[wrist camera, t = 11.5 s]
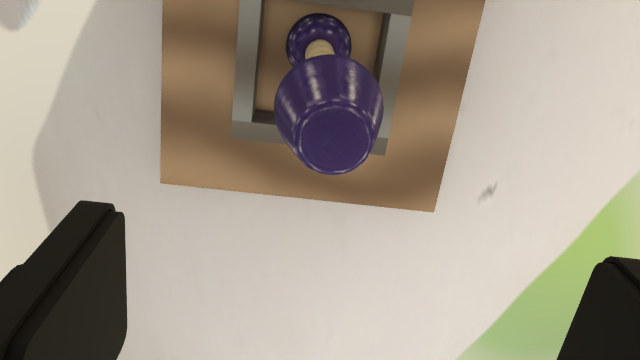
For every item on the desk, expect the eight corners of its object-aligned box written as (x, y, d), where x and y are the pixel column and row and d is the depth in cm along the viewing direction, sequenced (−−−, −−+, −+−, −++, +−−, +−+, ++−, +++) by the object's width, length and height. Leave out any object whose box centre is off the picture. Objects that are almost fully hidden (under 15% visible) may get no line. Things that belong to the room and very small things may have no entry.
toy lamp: (366, 65, 35) (420, 158, 19) (306, 101, 35) (310, 216, 20) (331, -1, 33) (358, 43, 18) (267, 38, 34) (241, 112, 18)
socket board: (170, -135, 31) (150, -149, 27) (497, -86, 33) (525, -91, 28) (165, 174, 39) (148, 201, 35) (429, 203, 40) (443, 232, 36)
